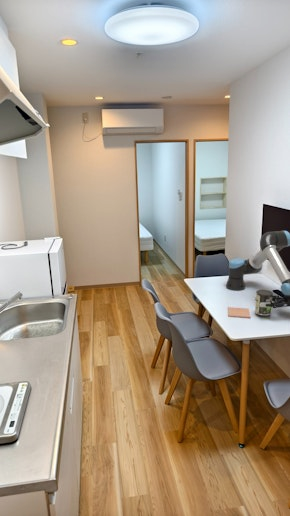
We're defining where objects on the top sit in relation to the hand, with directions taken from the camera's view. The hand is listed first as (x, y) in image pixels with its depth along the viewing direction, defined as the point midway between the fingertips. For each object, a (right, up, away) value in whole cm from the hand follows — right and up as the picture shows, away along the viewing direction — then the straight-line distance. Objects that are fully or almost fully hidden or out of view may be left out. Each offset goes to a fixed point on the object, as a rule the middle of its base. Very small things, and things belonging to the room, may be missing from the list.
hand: (257, 301), depth 226 cm
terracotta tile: (-11, -9, +6) cm, 15 cm away
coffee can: (+4, -8, +2) cm, 9 cm away
